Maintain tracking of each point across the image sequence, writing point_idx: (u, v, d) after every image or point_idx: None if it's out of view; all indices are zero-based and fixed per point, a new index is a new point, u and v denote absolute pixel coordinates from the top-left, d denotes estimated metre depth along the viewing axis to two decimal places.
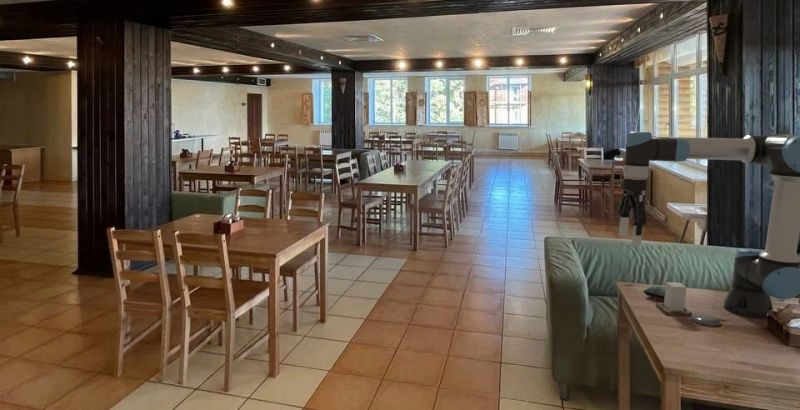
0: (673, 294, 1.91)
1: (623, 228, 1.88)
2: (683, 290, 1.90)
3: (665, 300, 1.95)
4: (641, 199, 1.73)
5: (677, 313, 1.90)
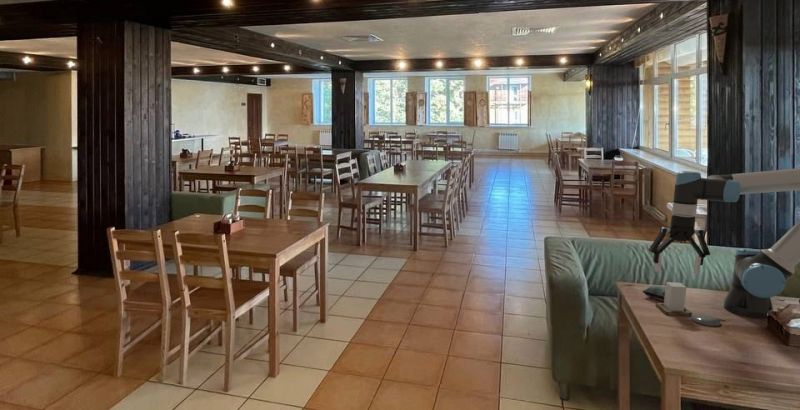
0: (673, 294, 1.91)
1: (695, 266, 1.91)
2: (683, 290, 1.90)
3: (665, 300, 1.95)
4: (661, 231, 1.90)
5: (677, 313, 1.90)
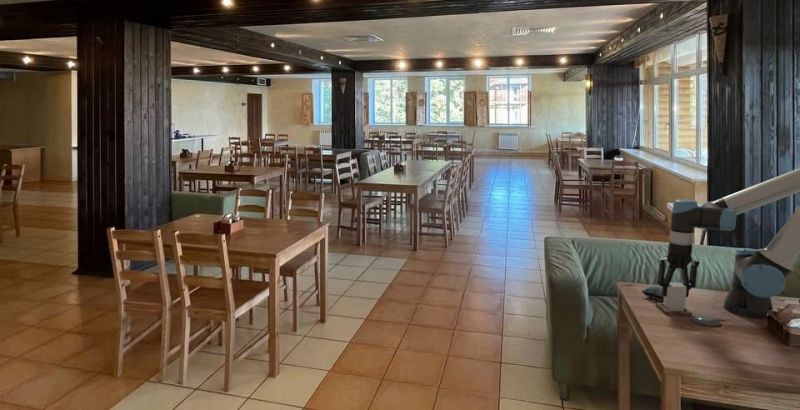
0: (673, 293, 1.91)
1: None
2: (683, 290, 1.90)
3: None
4: (660, 263, 1.92)
5: (677, 313, 1.90)
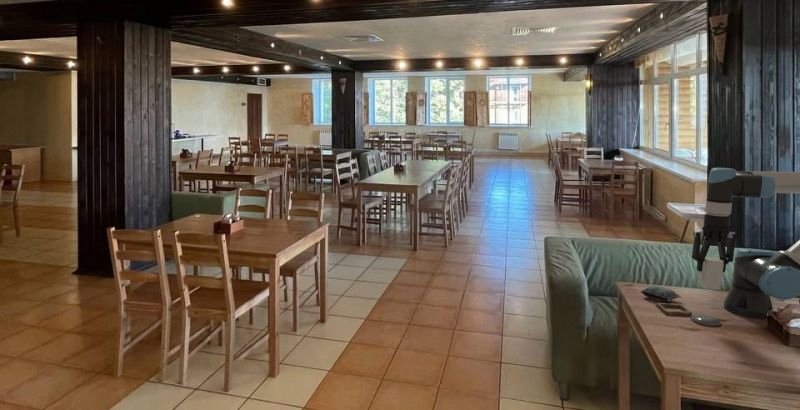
0: (709, 268, 1.79)
1: None
2: (720, 264, 1.79)
3: None
4: (695, 236, 1.80)
5: (677, 313, 1.90)
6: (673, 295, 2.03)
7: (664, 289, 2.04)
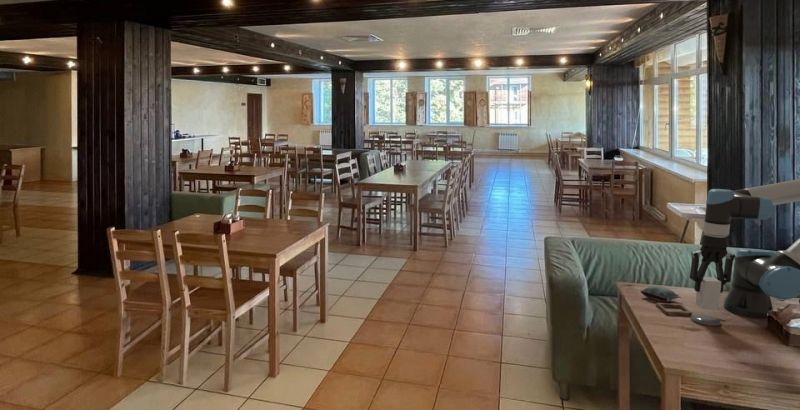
0: (707, 289, 1.80)
1: None
2: (718, 285, 1.80)
3: None
4: (693, 256, 1.81)
5: (677, 313, 1.90)
6: (672, 295, 2.03)
7: (663, 289, 2.04)
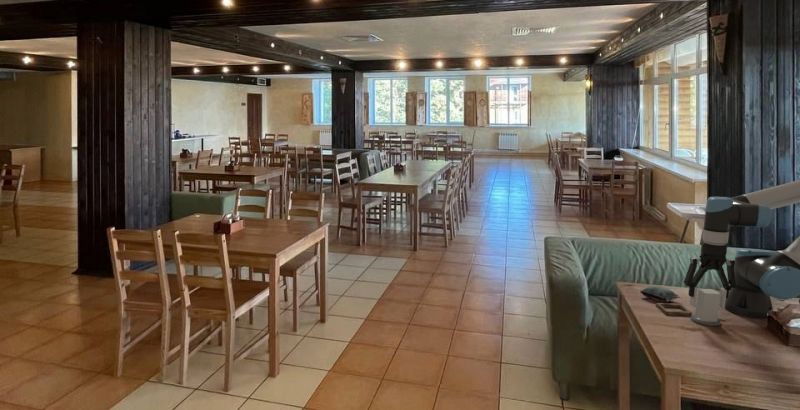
0: (707, 301, 1.81)
1: (720, 299, 1.84)
2: (717, 297, 1.81)
3: (698, 307, 1.85)
4: (692, 262, 1.82)
5: (677, 313, 1.90)
6: (672, 295, 2.03)
7: (663, 289, 2.04)
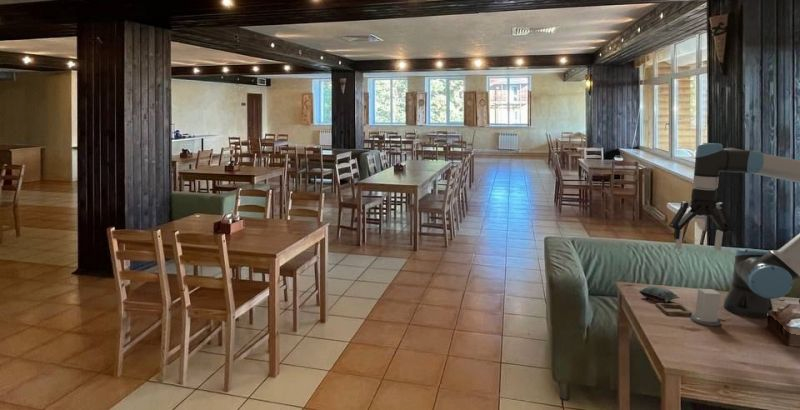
0: (707, 301, 1.81)
1: (716, 241, 1.86)
2: (717, 297, 1.81)
3: (698, 307, 1.85)
4: (682, 205, 1.83)
5: (677, 313, 1.90)
6: (671, 295, 2.02)
7: (662, 289, 2.04)
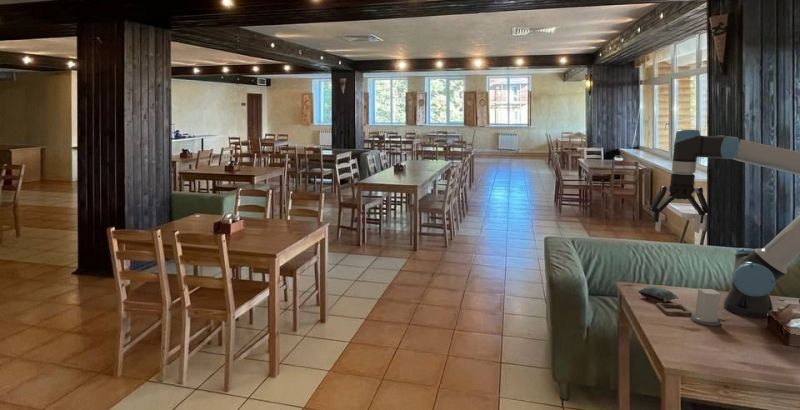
0: (707, 301, 1.81)
1: (695, 224, 1.93)
2: (717, 297, 1.81)
3: (698, 307, 1.85)
4: (661, 189, 1.91)
5: (677, 313, 1.90)
6: (670, 296, 2.02)
7: (661, 289, 2.03)
